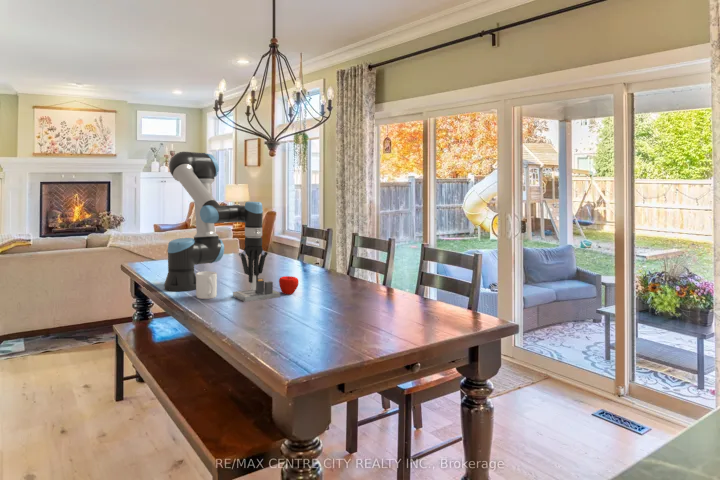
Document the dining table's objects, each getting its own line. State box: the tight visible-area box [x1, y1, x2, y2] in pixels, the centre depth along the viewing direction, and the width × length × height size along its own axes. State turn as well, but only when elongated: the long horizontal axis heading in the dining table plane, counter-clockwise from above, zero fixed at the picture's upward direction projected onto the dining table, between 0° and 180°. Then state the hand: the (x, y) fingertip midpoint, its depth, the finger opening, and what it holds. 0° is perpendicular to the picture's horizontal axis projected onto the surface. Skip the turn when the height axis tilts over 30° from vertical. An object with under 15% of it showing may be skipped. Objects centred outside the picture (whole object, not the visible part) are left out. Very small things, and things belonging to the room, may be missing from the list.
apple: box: [278, 275, 299, 295], centre depth 226 cm, size 9×9×8 cm
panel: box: [232, 289, 281, 303], centre depth 218 cm, size 12×17×2 cm
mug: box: [195, 271, 218, 300], centre depth 213 cm, size 9×12×11 cm
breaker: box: [264, 280, 274, 294], centre depth 216 cm, size 2×3×5 cm, turn 129°
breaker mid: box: [256, 279, 265, 292], centre depth 218 cm, size 2×3×5 cm, turn 129°
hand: (253, 289), depth 216 cm, fingers closed
